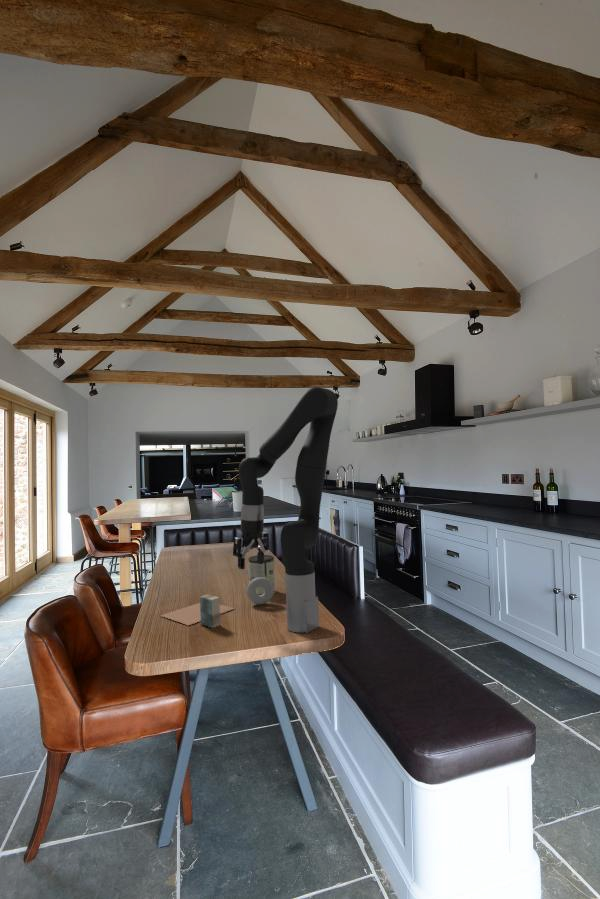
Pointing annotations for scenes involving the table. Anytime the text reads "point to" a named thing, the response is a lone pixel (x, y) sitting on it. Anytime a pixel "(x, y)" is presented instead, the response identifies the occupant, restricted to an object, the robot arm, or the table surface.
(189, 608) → the mat
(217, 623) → the beige rectangular block
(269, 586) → the donut
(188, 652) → the table surface
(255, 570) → the coffee can
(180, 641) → the table surface
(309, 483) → the robot arm
